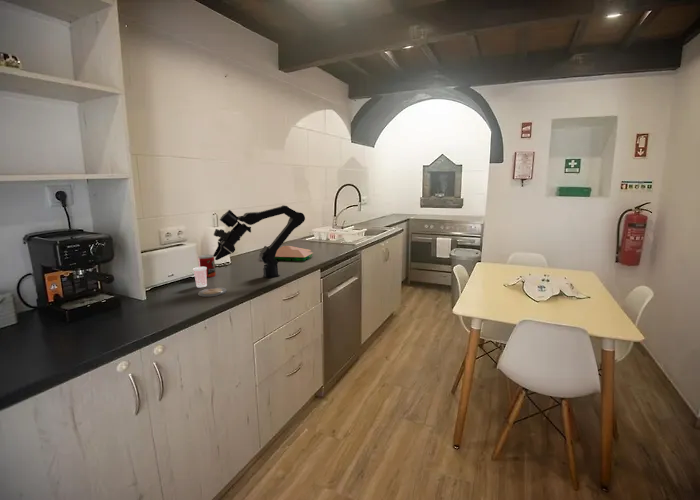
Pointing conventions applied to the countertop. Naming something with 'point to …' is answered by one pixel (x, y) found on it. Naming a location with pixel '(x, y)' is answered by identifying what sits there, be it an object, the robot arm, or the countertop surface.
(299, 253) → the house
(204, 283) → the beverage cup
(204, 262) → the canned food
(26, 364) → the countertop surface
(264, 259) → the robot arm
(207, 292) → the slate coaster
